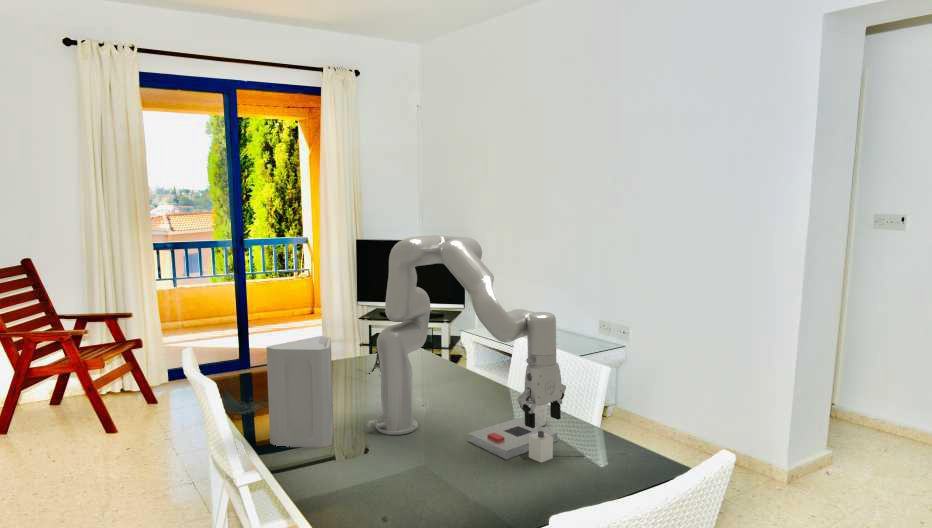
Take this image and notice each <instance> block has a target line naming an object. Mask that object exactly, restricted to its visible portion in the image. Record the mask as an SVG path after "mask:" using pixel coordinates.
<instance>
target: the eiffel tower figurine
mask: <svg viewBox="0 0 932 528" xmlns="http://www.w3.org/2000/svg"><path fill="white" fill-rule="evenodd" d="M374 369H380V359H379V354H378V350H377V349H376V358H375V363H374V365H373V367H372V370H371V371H370V372H373V371H374Z"/></svg>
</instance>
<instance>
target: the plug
mask: <svg viewBox="0 0 932 528" xmlns="http://www.w3.org/2000/svg"><path fill="white" fill-rule="evenodd" d="M553 452H554V442H553V437H552V436H550V435H547V434H545V433H544V431H538V433H536V434H533V435H530V436H529V451H528V458H529V459H531V460H534V461H536V462H538V463H544V462H546V461H550V460H551V459H553V458H554V457H553V456H554V453H553Z"/></svg>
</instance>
